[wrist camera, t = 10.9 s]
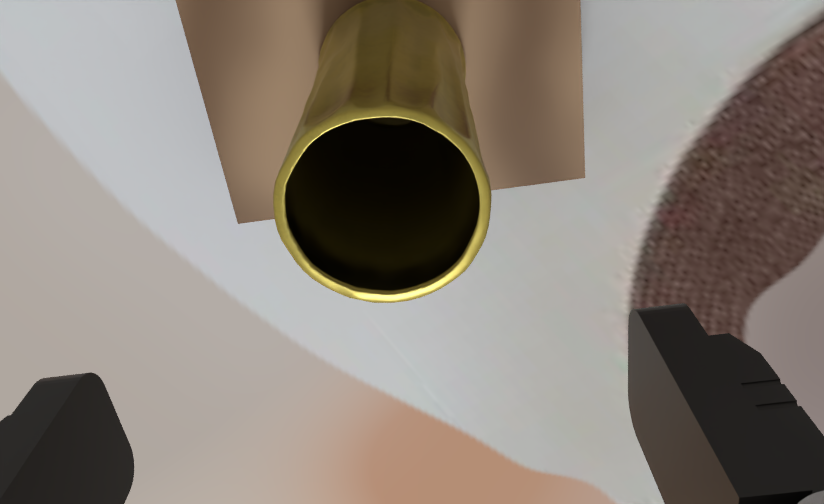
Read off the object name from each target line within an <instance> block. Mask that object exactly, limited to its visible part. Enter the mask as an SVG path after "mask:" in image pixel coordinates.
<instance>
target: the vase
mask: <svg viewBox="0 0 824 504" xmlns="http://www.w3.org/2000/svg"><path fill="white" fill-rule="evenodd" d="M318 65H319V68H318V70H317V73H316V77H315V81H314V85H313V88H312V90H311V93H310V95H309V97H308V99H307V102H306V104H305V107H304V111H303V114H302V117H301V119H300V121H299V124H298V126H297V128H296V131H295V133H294V135H293V138H292V140H291V143H290V146H289V148H288V151H287V153H286V156H285V158H284V161H283V164H282V166H281V168H280V170H279V173H278V175H277V178H276V180H275V186H274V193H273V208H274V218H275V222H276V226H277V230H278V232H279V235H280V237H281V240H282V242H283V243H284V245H285V246H286V248H287V249H288V251H289V252H290V254H291V255H292V257H293V258H294V260H295V261H296V263H297V264H298V265H299V266H300V267H301V268H302V270H303V271H304V272H305V273H307V274H308V275H309V276H310V277H311V278H312V279H314V280H315V281H317V282H318V283H320V284H322V285H323V286H325V287H327V288H329V289H331V290H333V291H335V292H337V293H340V294H342V295H344V296H347V297H349V298H354V299H358V300H363V301H368V302H374V303H394V302H401V301H408V300H412V299H416V298H420V297H423V296H425V295H428V294H430V293H433V292H435V291H437V290H439V289H441V288H442V287H444V286H446V285H447V284H449V283H450V282H452V281H453V280H454V279H456V278H457V277H458V276H460V275H461V274H462V273H463V272H464V271H465V270H466V269H467V268H468V267H469V265H470V264H471V263H472V261H473V259H474V258H475V256H476V255H477V253H478V251H479V249H480V248H481V246H482V244H483V242H484V239H485V237H486V234H487V230H488V226H489V219H490V210H491V185H490V179H489V176H488V173H487V171H486V168H485V166H484V163H483V159H482V156H481V151H480V146H479V141H478V136H477V132H476V127H475V122H474V118H473V114H472V111H471V108H470V104H469V96H468V90H467V87H466V84H465V78H466V62H465V57H464V52H463V49H462V45H461V42H460V40H459V38H458V36H457V35H456V33H455V31H454V30H453V28H452V27H451V26H450V24H449V23H448V22H447V21H446V20H445V19H444V17H443V16H441V15H440V14H439V13H438V12H437V11H435V10H434V9H433V8H431V7H429V6H428V5H426V4H424V3H422V2H419V1H417V0H365V1H363V2H361V3H358V4H356V5H355V6H353V7H352V8H350V9H348V10H347V11H346V12H345V13H344V14H342V15H341V16H340V17H339V18H338V19H337V20H336V21H335V22H334V24H333V25H332V27H331V28H330V30H329V31H328V33H327V36H326V38H325V40H324V42H323V45H322V48H321V50H320V56H319V60H318Z"/></svg>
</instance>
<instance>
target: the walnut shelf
mask: <svg viewBox="0 0 824 504" xmlns="http://www.w3.org/2000/svg"><path fill="white" fill-rule="evenodd" d="M363 1H365V0H176V3H177V7H178V10H179V14H180V18H181V21H182V25H183V28H184V32H185V36H186V39H187V43H188V46H189V50H190V53H191V57H192V61H193V64H194V68H195V71H196V75H197V78H198V82H199V86H200V89H201V93H202V96H203V100H204V104H205V107H206V111H207V114H208V118H209V121H210V125H211V129H212V132H213V136H214V139H215V143H216V147H217V150H218V154H219V157H220V161H221V164H222V168H223V172H224V175H225V179H226V182H227V186H228V190H229V193H230V197H231V200H232V204H233V207H234V211H235V215H236V218H237V222H238V224H240V223H247V222H255V221H262V220H270V219H275V218H274V208H273V193H274V186H275V180H276V178H277V175H278V173H279V170H280V168H281V166H282V164H283V161H284V158H285V156H286V153H287V151H288V148H289V146H290V143H291V140H292V138H293V135H294V133H295V131H296V128H297V126H298V124H299V121H300V119H301V117H302V114H303V111H304V107H305V104H306V102H307V99H308V97H309V95H310V93H311V90H312V88H313V85H314V81H315V77H316V73H317V70H318V68H319V65H318V60H319V56H320V50H321V48H322V45H323V42H324V40H325V38H326V36H327V33H328V31H329V30H330V28H331V27H332V25H333V24H334V22H335V21H336V20H337V19H338V18H339V17H340V16H341V15H342V14H344V13H345V12H346V11H347V10H348V9H350V8H352V7H353V6H355V5H356V4H358V3H361V2H363ZM417 1H419V2H422V3H424V4H426V5H428V6H429V7H431V8H433V9H434V10H435V11H437V12H438V13H439V14H440V15H441V16H443V17H444V19H445V20H446V21H447V22H448V23H449V24H450V26H451V27H452V28H453V30H454V31H455V33H456V35H457V36H458V38H459V40H460V42H461V45H462V49H463V52H464V57H465V62H466V78H465V84H466V87H467V90H468V96H469V104H470V108H471V111H472V114H473V118H474V122H475V127H476V132H477V136H478V141H479V146H480V151H481V156H482V159H483V163H484V166H485V168H486V171H487V173H488V176H489V179H490V185H491V190H497V189H504V188H512V187H519V186H527V185H535V184H542V183H550V182H557V181H565V180H572V179H580V178H585V156H584V119H583V83H582V46H581V9H580V0H417Z"/></svg>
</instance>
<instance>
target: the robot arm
mask: <svg viewBox="0 0 824 504" xmlns="http://www.w3.org/2000/svg"><path fill="white" fill-rule="evenodd" d="M628 399H629V408H630V414H631V419H632V423H633V427H634V430H635V433H636V436H637V439H638V441H639V443H640V446H641V448H642V451H643V453H644V455H645V458H646V460H647V462H648V465H649V467H650V470H651V472H652V474H653V477H654V479H655V481H656V484H657V486H658V489H659V491H660V493H661V496H662V498H663V500H664V503H665V504H824V436H823V434H822V433H821V432H820V430H818V428H817V427H816V425H815V424H814V423H813V421H812V420H811V419H810V417H809V416H808V415H807V414H806V412H805V411H804V410H803V408H802V407H801V406H797V400H796V399H795V398H794V396H793V395H792V394H791V393H790V391H789V390H788V389H787V388H786V386H785V385H784V384H781V382H780V379H779V377H778V376H777V374H776V373H775V372H774V370H773V369H772V368H771V367H770V365H769V364H768V362H767V361H766V360H765V359H764V357H763V356H762V355H761V353H759V352H758V351H756V350H754V349H753V348H751V347H750V346H748V345H747V344H745V343H743V342H742V341H740V340H739V339H737V338H735V337H734V336H732V335H731V334H729V333H727V334H719V335H710V336H708V335H707V333H706V332H705V330H704V329H703V327H702V326H701V324H700V323H699V321H698V320H697V318H696V317H695V315H694V314H693V312H692V311H691V310H690V308H689V307H688V306H687V305H686V304H684V303H683V304H674V305H666V306H658V307H649V308H641V309H633V310H631V312H630V315H629V325H628ZM133 475H134V459H133V453H132V449H131V446H130V444H129V441H128V439H127V437H126V434H125V432H124V430H123V427H122V425H121V423H120V420H119V418H118V416H117V413H116V411H115V409H114V406H113V404H112V401H111V399H110V397H109V394H108V392H107V390H106V388H105V385H104V383H103V381H102V380H101V378H100V377H99V376H98V375H96V374H94V373H85V374H75V375H67V376H59V377H50V378H43V379H40V380H39V381H37V382H36V383H35V384H34V385H33V387H32V388H31V390H30V391H29V392H28V393H27V395H26V396H25V397H24V399H23V400H22V401H21V403H20V404H19V405H18V407H17V408H16V409H15V411H14V412H13V414H12V415H10V416H7V417H5V418H4V419H3V420H2V421H0V504H124V503H125V500H126V498H127V496H128V494H129V491H130V489H131V486H132V482H133V477H134V476H133Z"/></svg>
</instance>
